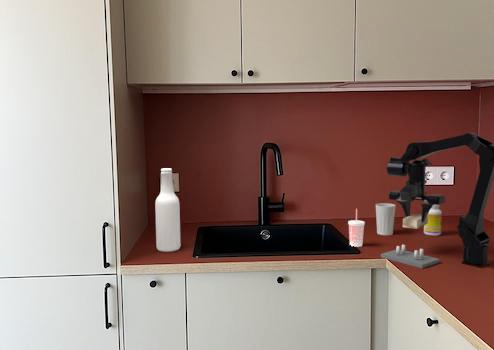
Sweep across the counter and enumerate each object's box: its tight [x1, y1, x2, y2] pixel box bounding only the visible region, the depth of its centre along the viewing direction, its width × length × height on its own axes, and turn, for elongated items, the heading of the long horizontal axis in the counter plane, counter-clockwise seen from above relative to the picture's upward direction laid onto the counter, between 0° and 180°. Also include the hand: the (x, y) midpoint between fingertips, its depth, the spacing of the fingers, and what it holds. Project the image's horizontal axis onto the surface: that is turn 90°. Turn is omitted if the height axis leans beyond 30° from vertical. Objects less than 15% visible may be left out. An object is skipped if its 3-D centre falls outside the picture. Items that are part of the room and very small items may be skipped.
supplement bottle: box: [423, 205, 443, 237], centre depth 200 cm, size 7×7×13 cm
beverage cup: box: [347, 208, 366, 248], centre depth 184 cm, size 6×6×14 cm
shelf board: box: [402, 213, 428, 230], centre depth 174 cm, size 5×11×3 cm, turn 141°
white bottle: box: [154, 167, 182, 253], centre depth 180 cm, size 9×9×30 cm
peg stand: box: [380, 244, 440, 269], centre depth 165 cm, size 16×10×4 cm, turn 37°
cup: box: [375, 202, 397, 236], centre depth 202 cm, size 8×8×12 cm
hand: (415, 221), depth 174 cm, fingers closed on shelf board, 5 cm apart
